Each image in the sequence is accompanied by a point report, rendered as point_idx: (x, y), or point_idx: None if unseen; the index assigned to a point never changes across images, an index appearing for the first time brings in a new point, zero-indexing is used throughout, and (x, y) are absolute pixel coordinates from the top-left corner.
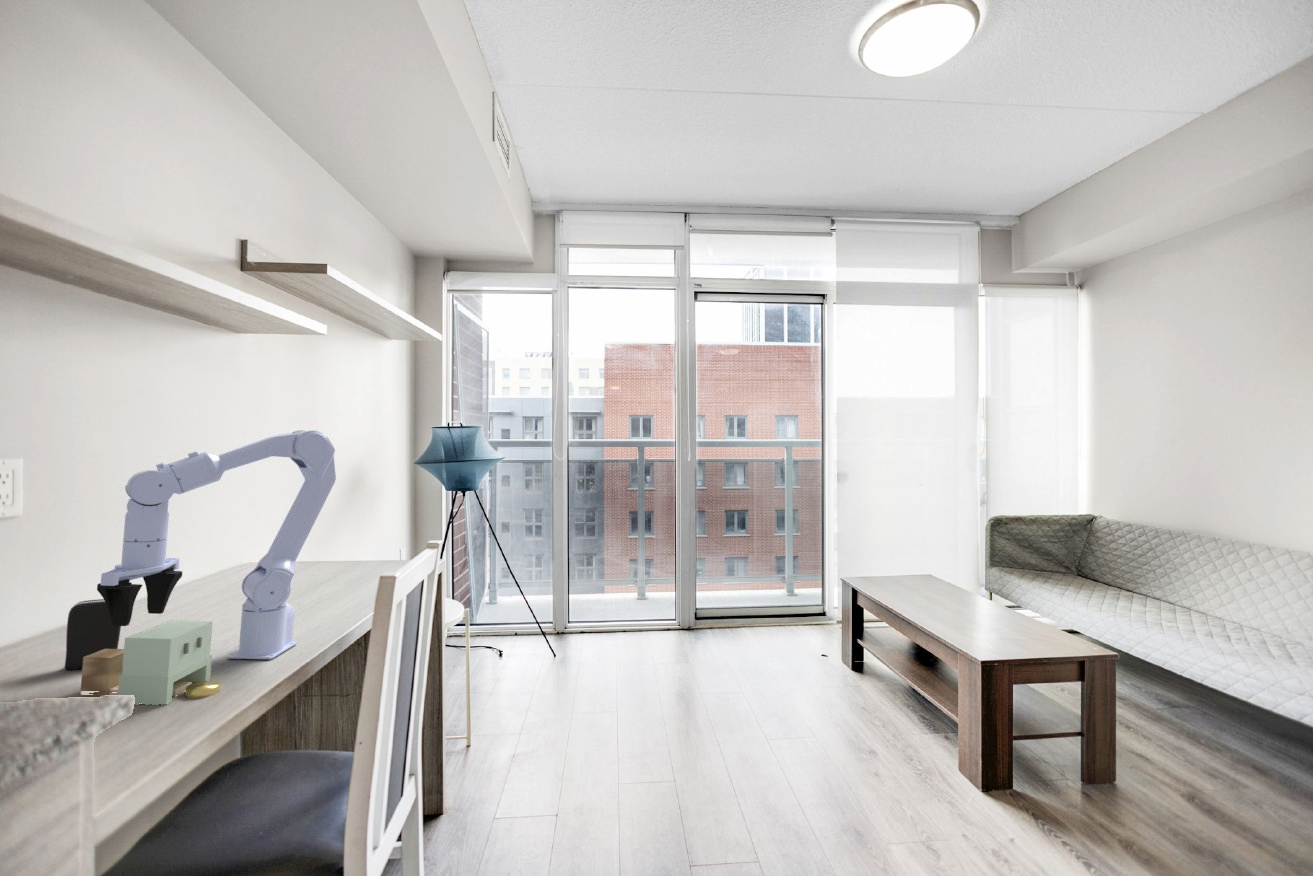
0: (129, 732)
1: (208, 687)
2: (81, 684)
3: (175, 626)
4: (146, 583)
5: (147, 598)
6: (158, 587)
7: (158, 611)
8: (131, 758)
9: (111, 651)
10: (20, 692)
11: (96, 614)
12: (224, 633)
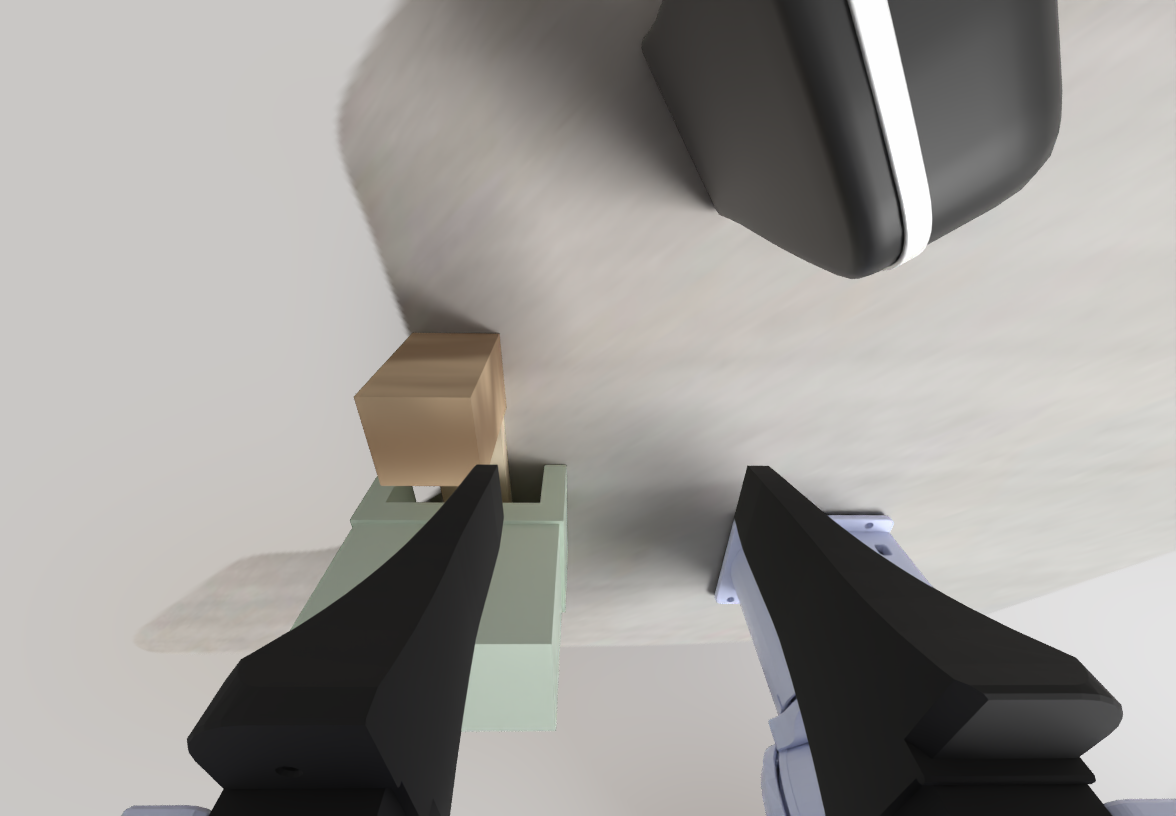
0: (278, 565)
1: None
2: (398, 349)
3: (468, 687)
4: (872, 619)
5: (797, 520)
6: (816, 653)
7: (739, 519)
8: (207, 616)
9: (443, 442)
10: (388, 77)
11: (775, 140)
12: (1087, 365)
